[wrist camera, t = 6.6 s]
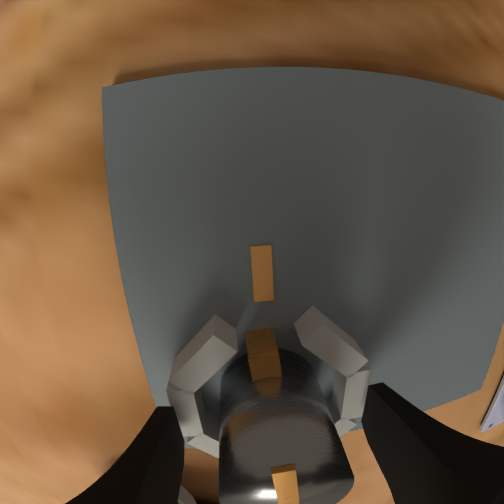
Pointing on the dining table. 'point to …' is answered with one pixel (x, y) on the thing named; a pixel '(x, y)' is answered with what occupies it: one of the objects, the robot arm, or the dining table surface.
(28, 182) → the dining table surface
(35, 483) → the dining table surface
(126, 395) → the dining table surface
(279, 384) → the knob
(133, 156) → the hub board
